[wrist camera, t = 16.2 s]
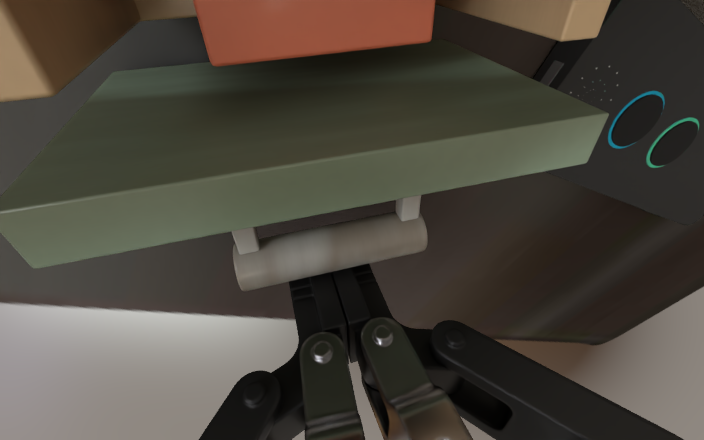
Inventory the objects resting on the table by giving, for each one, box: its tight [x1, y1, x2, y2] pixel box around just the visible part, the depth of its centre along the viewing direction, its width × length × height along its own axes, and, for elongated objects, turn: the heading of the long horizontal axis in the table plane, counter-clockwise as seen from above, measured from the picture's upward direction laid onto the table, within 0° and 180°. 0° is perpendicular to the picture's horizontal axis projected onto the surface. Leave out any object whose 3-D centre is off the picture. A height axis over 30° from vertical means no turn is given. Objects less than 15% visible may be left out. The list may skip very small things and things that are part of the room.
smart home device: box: [533, 0, 704, 225], centre depth 19 cm, size 8×2×20 cm
